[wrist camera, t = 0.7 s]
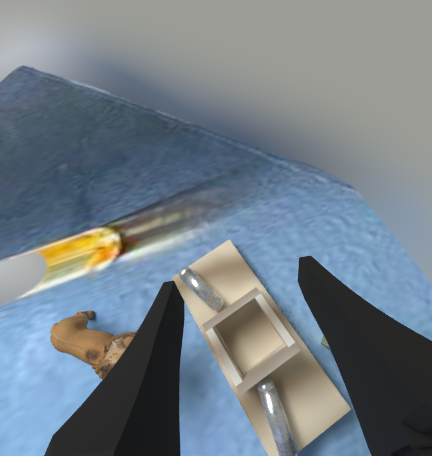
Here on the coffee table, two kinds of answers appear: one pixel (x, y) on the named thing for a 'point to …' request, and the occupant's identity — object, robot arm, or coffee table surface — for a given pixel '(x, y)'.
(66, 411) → the coffee table surface
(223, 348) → the shaft board
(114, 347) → the lion figurine
